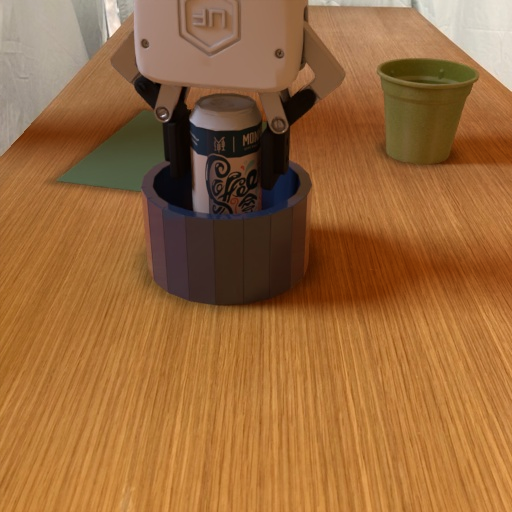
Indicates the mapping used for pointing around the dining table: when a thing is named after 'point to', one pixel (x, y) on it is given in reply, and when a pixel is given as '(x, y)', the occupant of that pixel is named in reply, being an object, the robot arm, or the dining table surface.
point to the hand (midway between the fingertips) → (226, 174)
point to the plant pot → (423, 106)
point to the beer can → (226, 154)
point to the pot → (226, 240)
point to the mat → (123, 156)
